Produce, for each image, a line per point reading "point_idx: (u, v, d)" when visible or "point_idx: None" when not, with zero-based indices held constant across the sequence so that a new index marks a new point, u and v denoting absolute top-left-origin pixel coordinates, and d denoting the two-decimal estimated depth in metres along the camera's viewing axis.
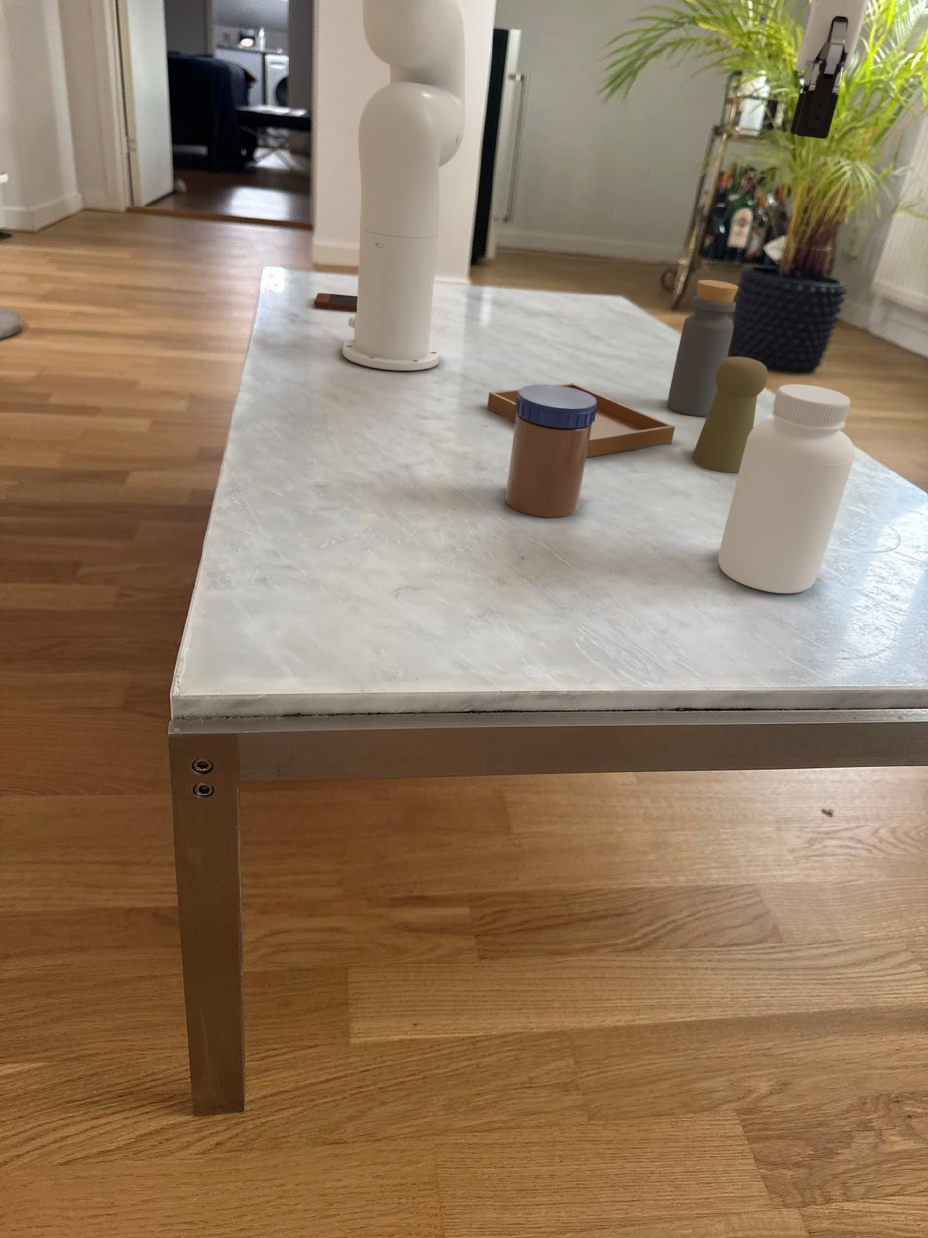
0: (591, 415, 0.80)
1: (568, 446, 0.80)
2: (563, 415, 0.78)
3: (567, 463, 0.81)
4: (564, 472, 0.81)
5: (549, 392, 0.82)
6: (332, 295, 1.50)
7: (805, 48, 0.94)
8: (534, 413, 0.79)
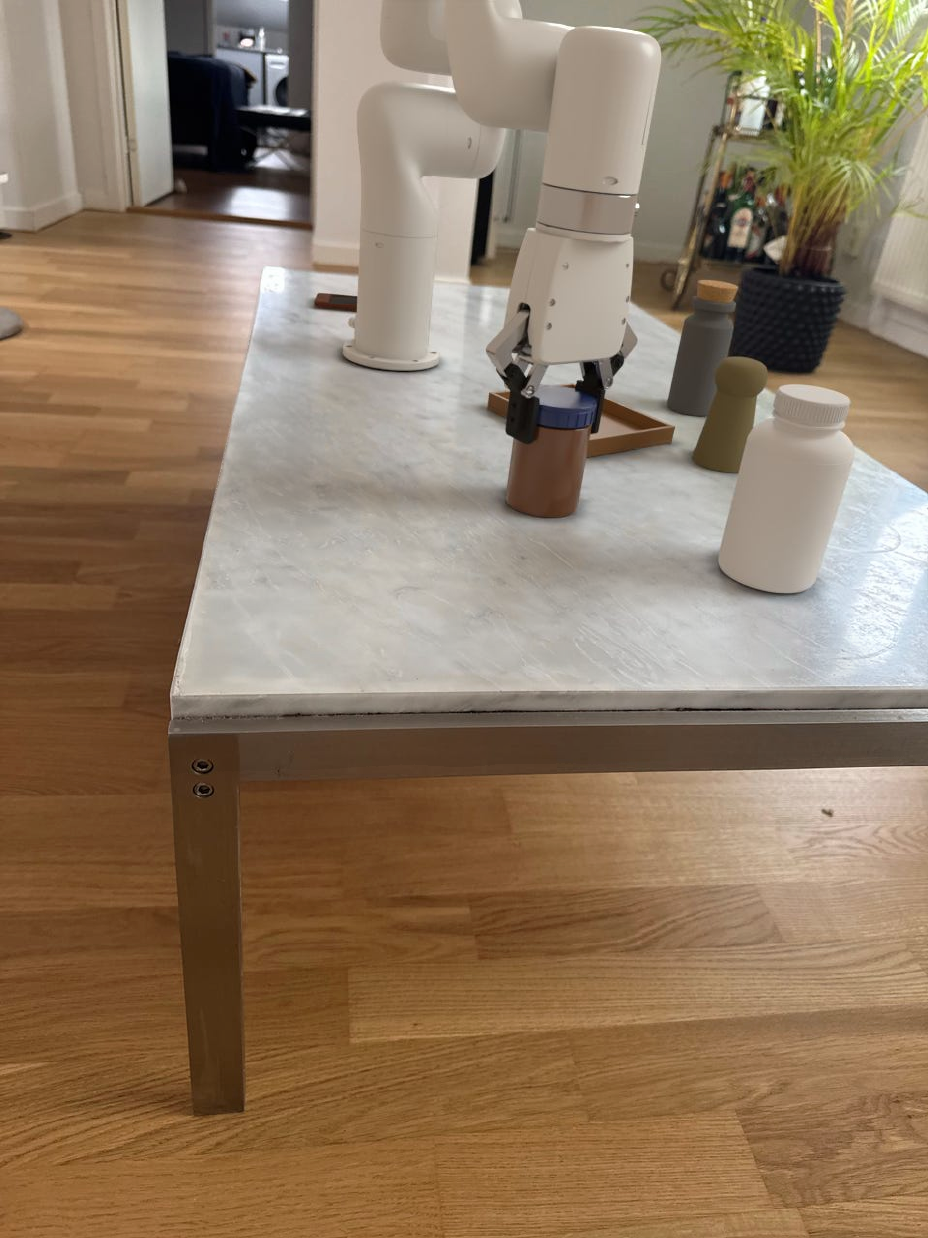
0: (591, 415, 0.80)
1: (568, 446, 0.80)
2: (563, 415, 0.78)
3: (567, 463, 0.81)
4: (564, 472, 0.81)
5: (549, 392, 0.82)
6: (332, 295, 1.50)
7: None
8: None
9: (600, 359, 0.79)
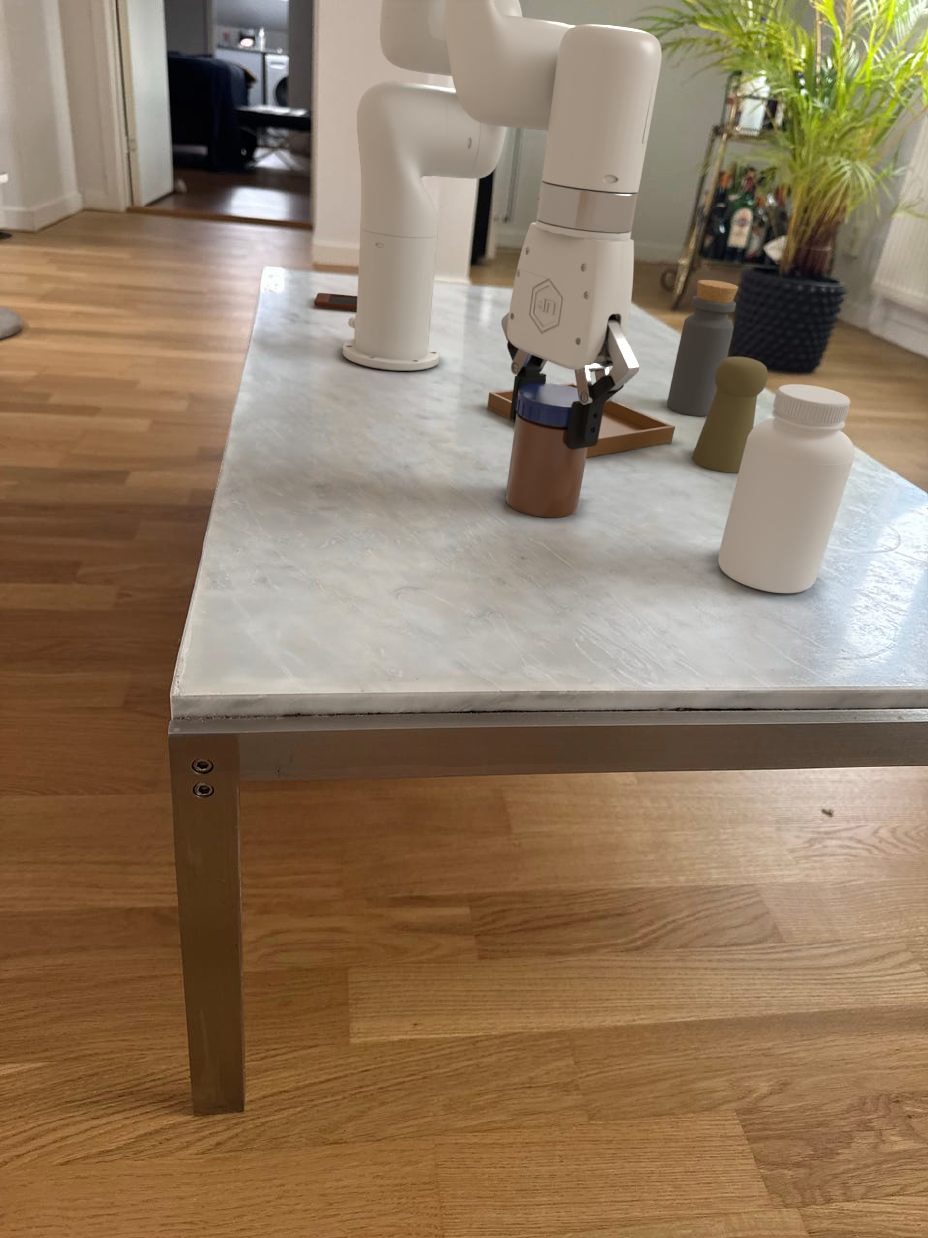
0: None
1: None
2: None
3: (567, 463, 0.81)
4: (564, 472, 0.81)
5: (548, 395, 0.80)
6: (332, 295, 1.50)
7: (581, 352, 0.74)
8: None
9: None
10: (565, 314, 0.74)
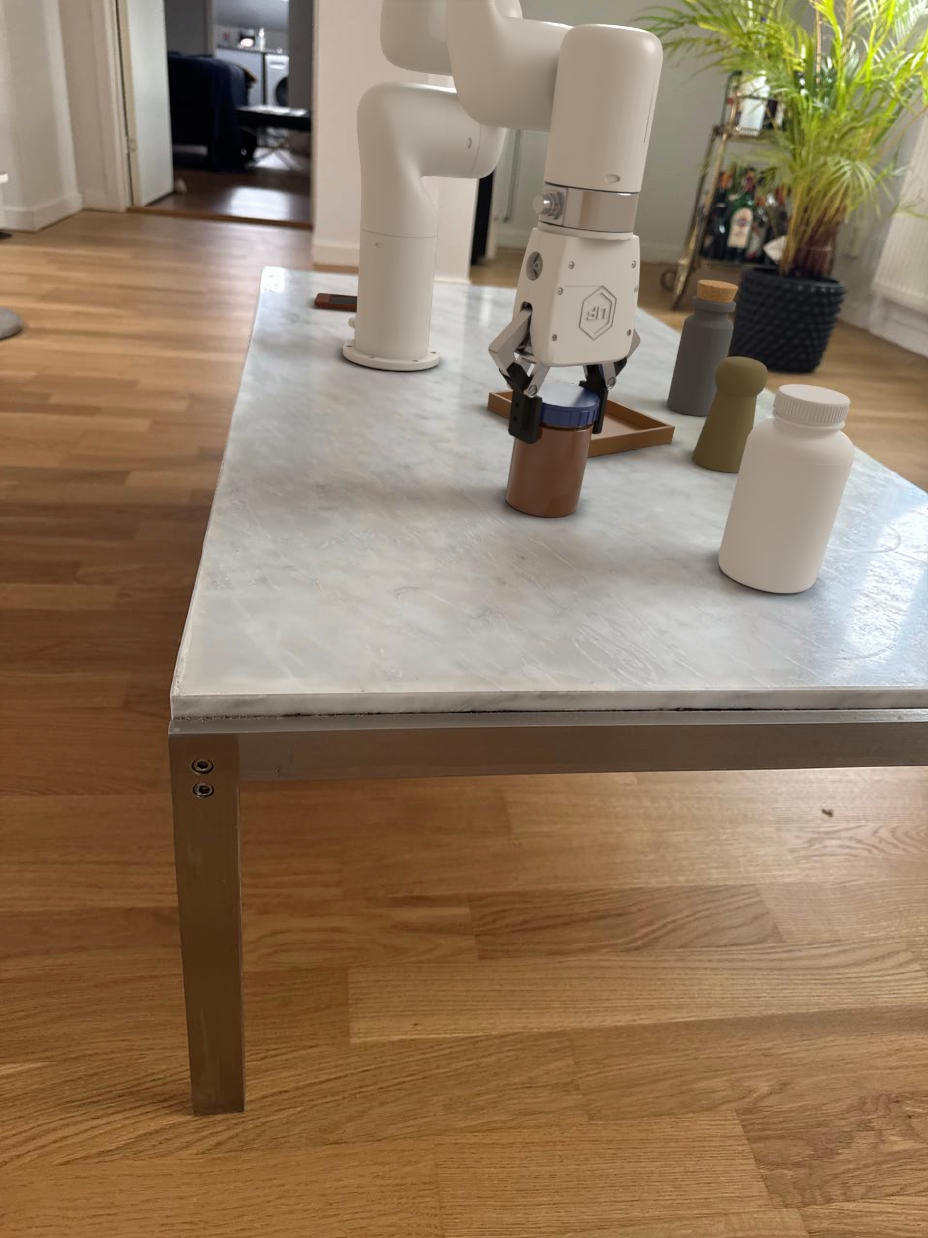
0: None
1: (569, 447, 0.80)
2: None
3: (568, 464, 0.81)
4: (565, 473, 0.81)
5: (568, 397, 0.80)
6: (332, 295, 1.50)
7: (630, 341, 0.79)
8: None
9: None
10: (618, 313, 0.76)
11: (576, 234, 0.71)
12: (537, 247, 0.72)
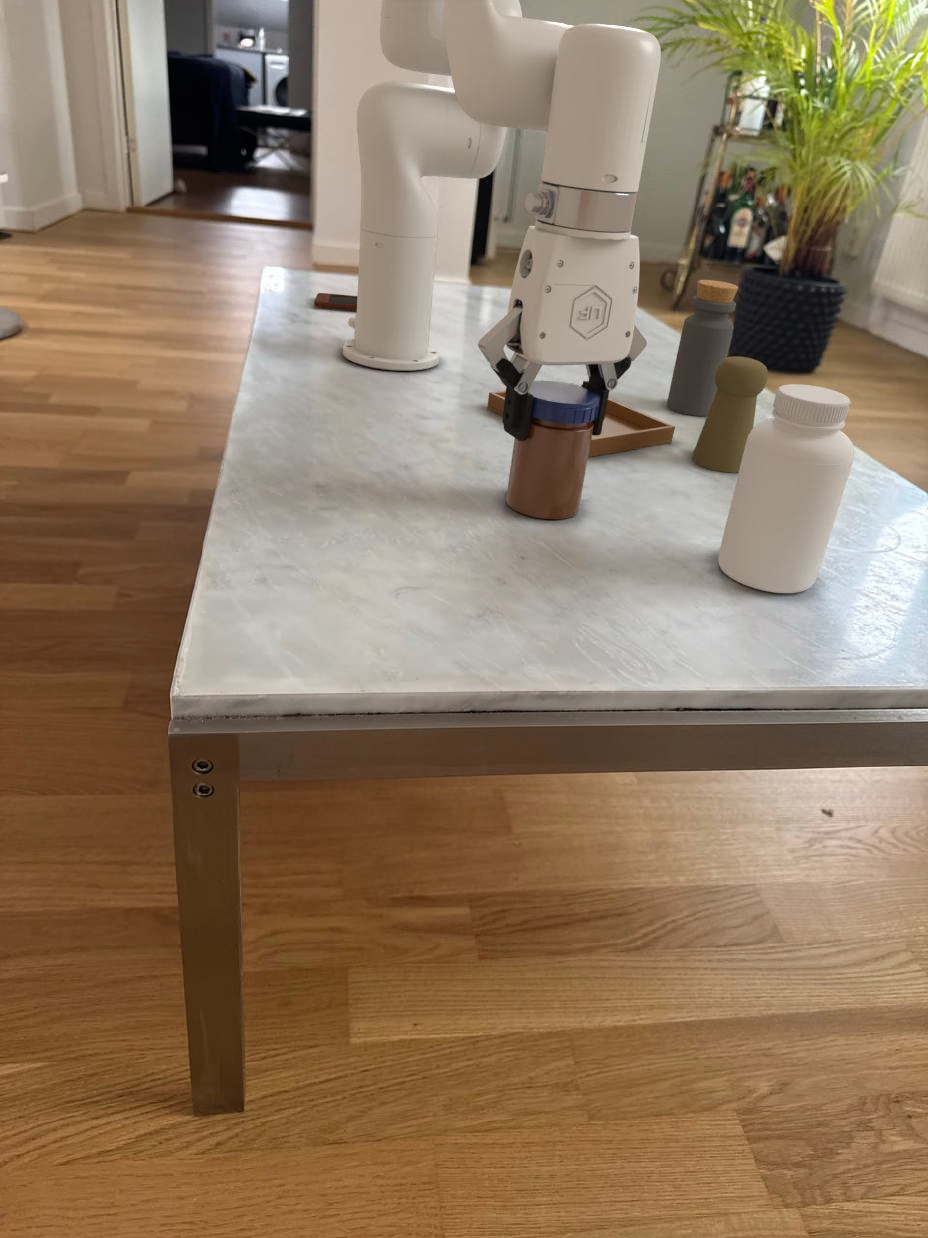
0: (591, 412, 0.79)
1: (584, 445, 0.80)
2: (559, 410, 0.78)
3: (582, 462, 0.81)
4: (579, 471, 0.81)
5: (553, 388, 0.81)
6: (332, 295, 1.50)
7: (629, 343, 0.78)
8: None
9: None
10: (614, 314, 0.76)
11: (566, 233, 0.71)
12: (529, 245, 0.73)
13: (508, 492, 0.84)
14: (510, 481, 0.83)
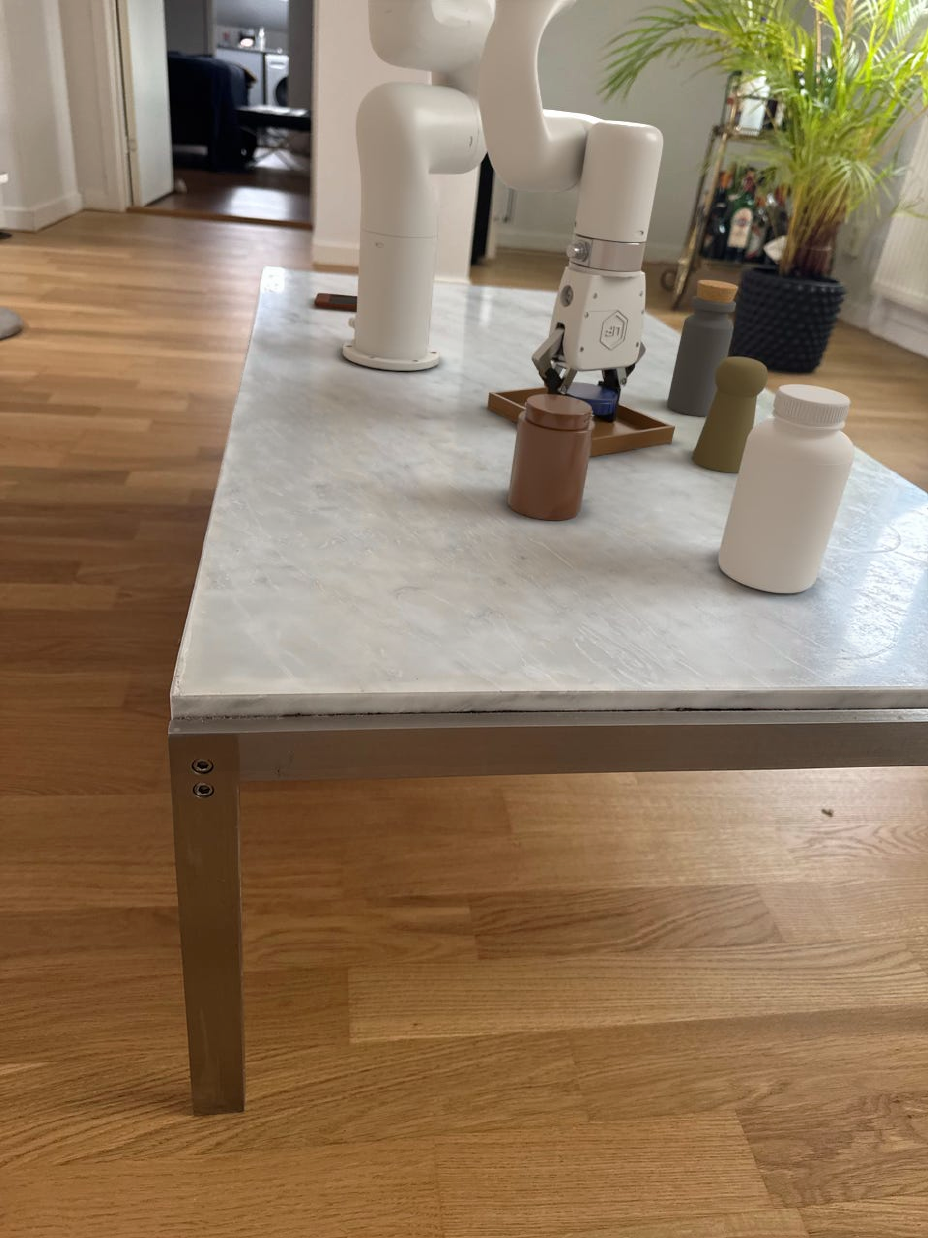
0: (613, 405, 1.04)
1: (587, 446, 0.80)
2: (592, 405, 1.02)
3: (585, 462, 0.81)
4: (583, 471, 0.82)
5: (580, 387, 1.05)
6: (332, 295, 1.50)
7: (638, 351, 1.03)
8: None
9: None
10: (629, 330, 1.01)
11: (598, 273, 0.95)
12: (569, 282, 0.97)
13: (511, 495, 0.84)
14: (513, 484, 0.83)
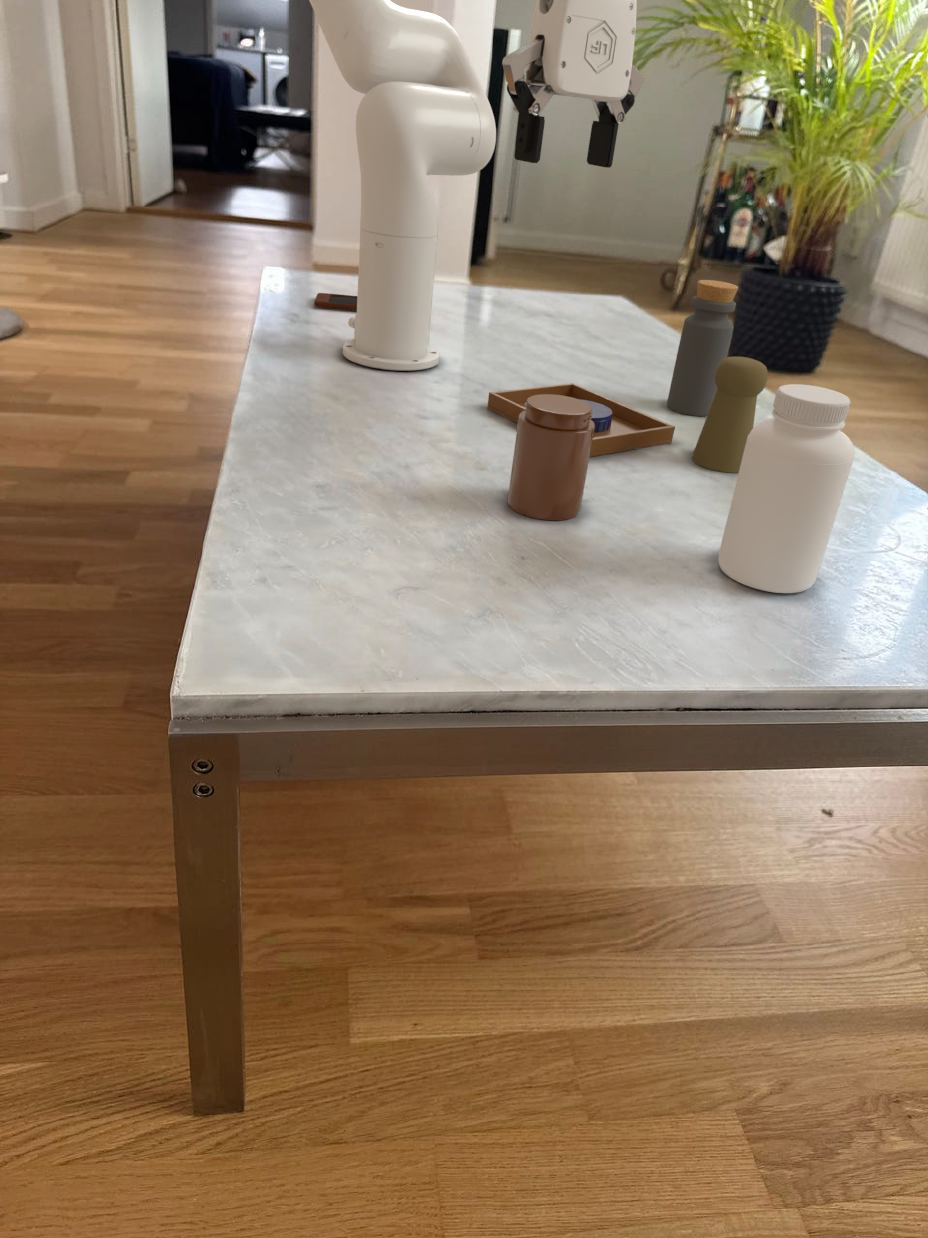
0: (608, 422, 1.05)
1: (587, 446, 0.80)
2: None
3: (585, 462, 0.81)
4: (583, 471, 0.82)
5: None
6: (332, 295, 1.50)
7: (628, 82, 0.92)
8: None
9: None
10: (617, 51, 0.89)
11: None
12: None
13: (511, 495, 0.84)
14: (513, 484, 0.83)
